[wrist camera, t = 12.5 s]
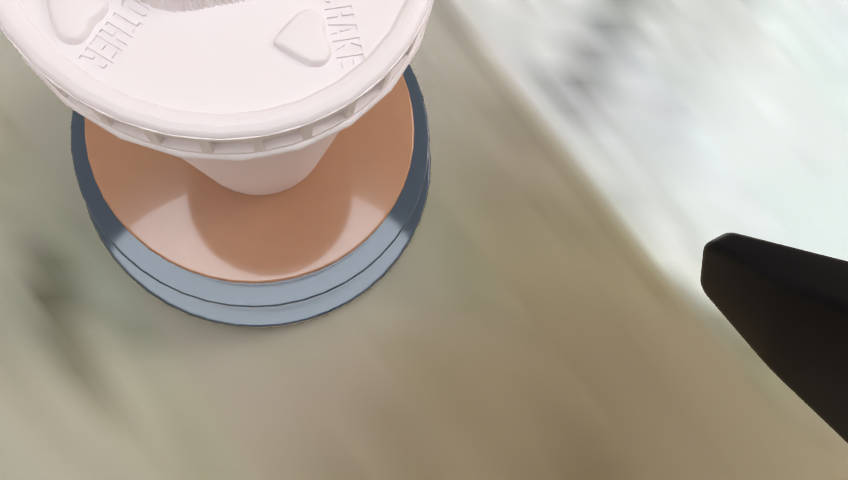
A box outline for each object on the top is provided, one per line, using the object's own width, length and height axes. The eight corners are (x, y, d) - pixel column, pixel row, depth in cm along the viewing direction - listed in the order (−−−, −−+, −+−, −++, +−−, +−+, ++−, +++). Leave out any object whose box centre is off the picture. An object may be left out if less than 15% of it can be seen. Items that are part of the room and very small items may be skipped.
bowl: (456, 64, 25) (490, 5, 20) (380, 363, 23) (400, 369, 18) (150, -32, 23) (116, -118, 19) (41, 279, 21) (-26, 263, 17)
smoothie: (161, -5, 19) (-209, -933, 5) (391, 45, 20) (598, -621, 6) (110, 222, 18) (-539, -181, 4) (356, 263, 19) (512, 51, 5)
